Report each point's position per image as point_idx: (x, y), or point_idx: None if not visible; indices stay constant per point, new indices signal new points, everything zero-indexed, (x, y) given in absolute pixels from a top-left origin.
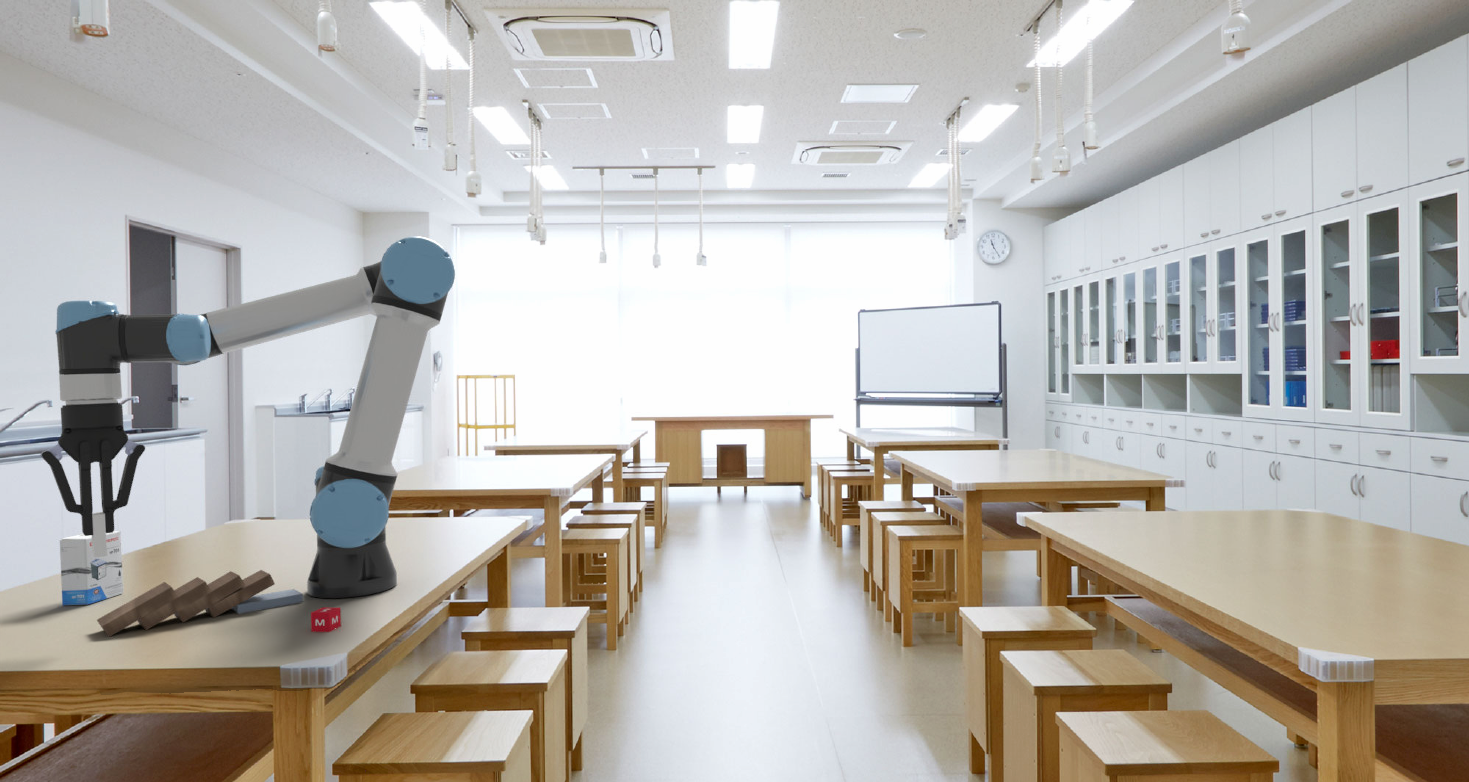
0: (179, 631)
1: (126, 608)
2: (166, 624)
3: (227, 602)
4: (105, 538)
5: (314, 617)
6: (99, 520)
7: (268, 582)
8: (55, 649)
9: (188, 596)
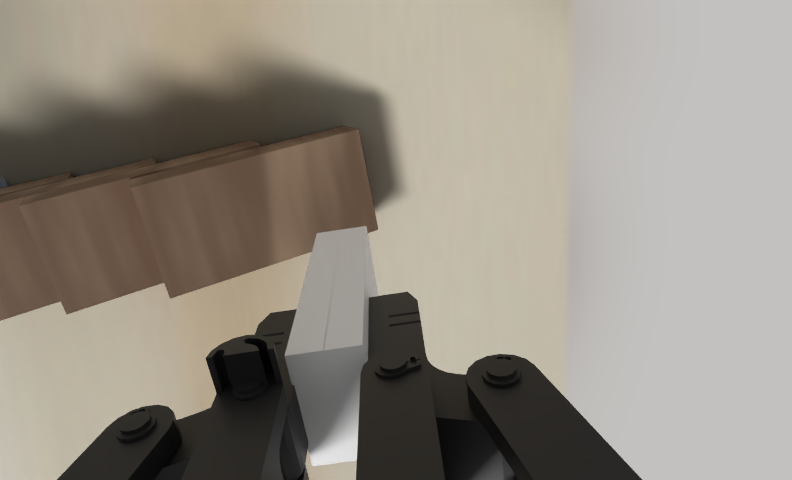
0: (151, 49)
1: (291, 195)
2: None
3: (8, 190)
4: (309, 270)
5: None
6: (324, 323)
7: None
8: (471, 67)
9: (99, 182)
